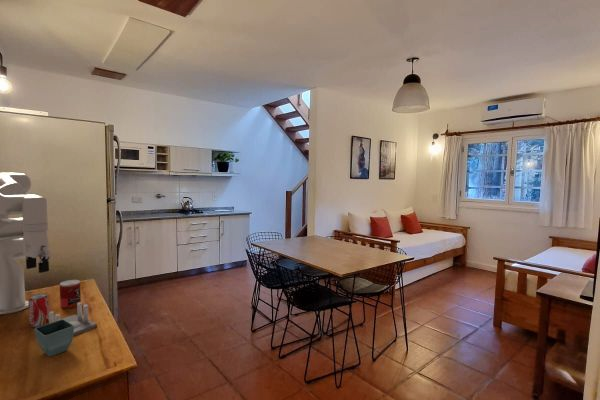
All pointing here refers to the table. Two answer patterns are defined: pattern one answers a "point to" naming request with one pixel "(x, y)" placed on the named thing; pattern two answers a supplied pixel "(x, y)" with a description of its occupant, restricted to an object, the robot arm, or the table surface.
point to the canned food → (70, 294)
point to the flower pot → (54, 337)
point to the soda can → (38, 310)
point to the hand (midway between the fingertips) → (37, 269)
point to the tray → (76, 319)
